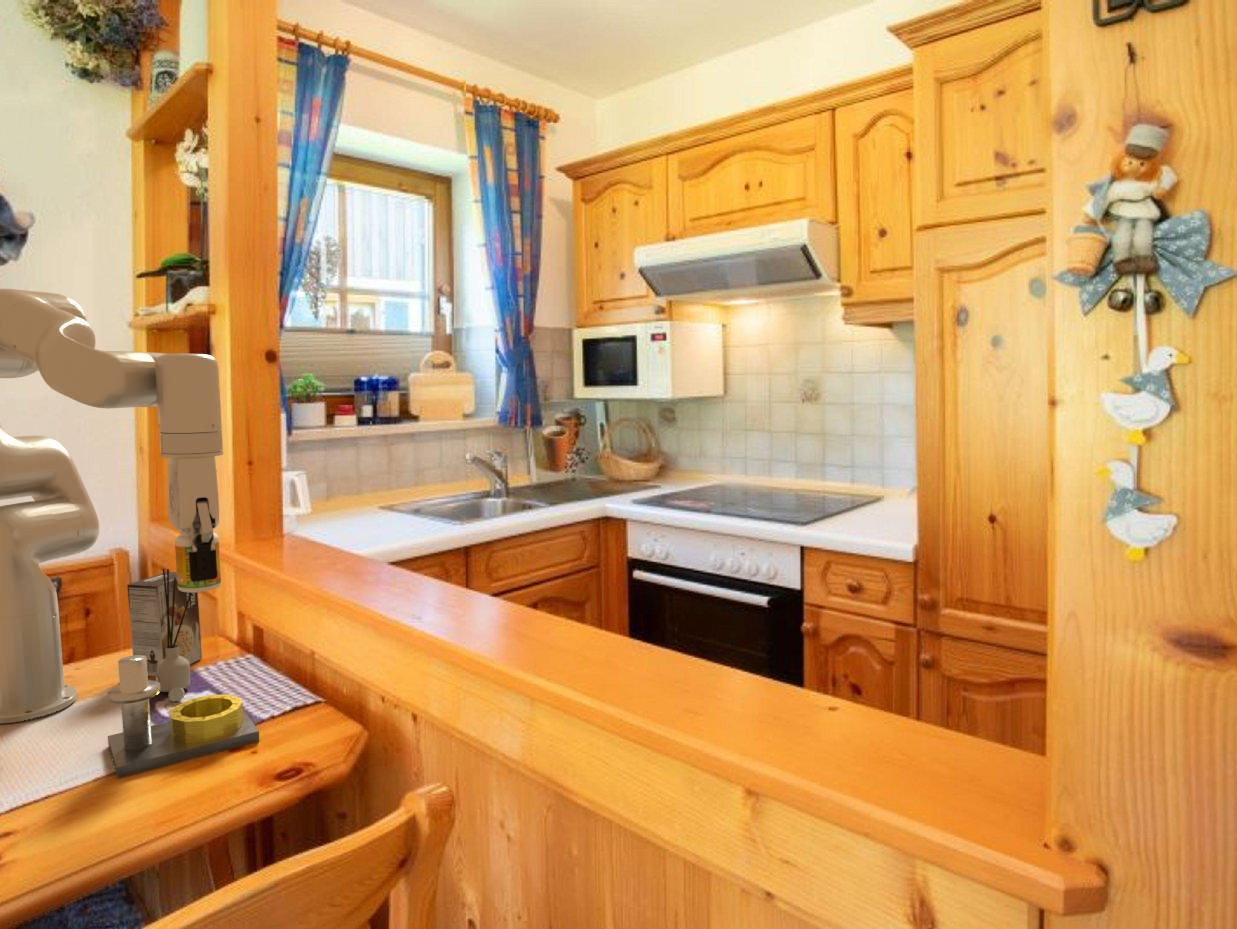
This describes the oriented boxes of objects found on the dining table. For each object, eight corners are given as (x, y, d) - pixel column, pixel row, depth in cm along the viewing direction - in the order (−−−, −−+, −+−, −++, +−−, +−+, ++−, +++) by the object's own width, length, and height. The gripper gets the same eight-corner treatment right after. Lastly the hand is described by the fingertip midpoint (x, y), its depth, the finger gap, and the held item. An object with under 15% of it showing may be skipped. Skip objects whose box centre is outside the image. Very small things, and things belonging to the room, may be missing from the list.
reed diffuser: (151, 686, 130) (144, 567, 128) (197, 676, 134) (191, 561, 132) (164, 706, 122) (156, 580, 120) (212, 694, 127) (206, 573, 124)
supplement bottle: (183, 595, 106) (178, 524, 104) (173, 587, 110) (169, 518, 108) (226, 588, 109) (222, 519, 108) (215, 580, 113) (211, 514, 112)
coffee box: (172, 656, 144) (167, 570, 142) (203, 659, 142) (198, 572, 141) (132, 675, 135) (126, 583, 133) (164, 678, 133) (158, 585, 132)
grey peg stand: (117, 778, 101) (110, 677, 99) (108, 746, 109) (101, 652, 108) (259, 741, 111) (254, 648, 109) (240, 714, 120) (236, 628, 118)
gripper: (150, 442, 111) (158, 567, 114) (171, 451, 98) (179, 593, 100) (209, 439, 116) (216, 559, 118) (236, 448, 103) (243, 583, 105)
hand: (199, 573), depth 109 cm, fingers closed on supplement bottle, 5 cm apart
